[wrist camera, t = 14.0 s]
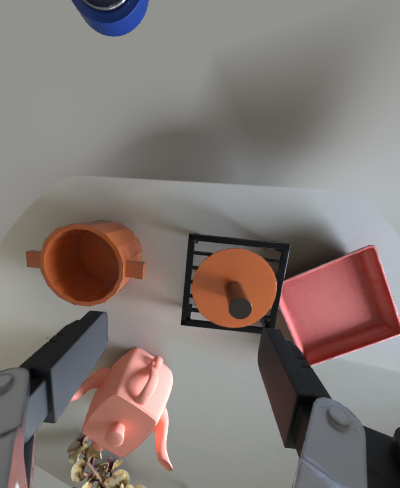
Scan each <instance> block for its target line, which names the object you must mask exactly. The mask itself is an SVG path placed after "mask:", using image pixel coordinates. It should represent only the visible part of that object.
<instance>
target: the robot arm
mask: <svg viewBox="0 0 400 488" xmlns="http://www.w3.org/2000/svg"><path fill="white" fill-rule="evenodd" d="M82 1H83V2H84V3H85V4H86V5H87V6H88V7H90V8H91V9H93V10H95V11H97V12H101V13H111V12H115V11H117V10H119V9H120V8H122V7H123V6H124V5H125V4H126V3H127V2H128V1H129V0H82ZM107 341H108V317H107V313H106V312H100V311H89V312H88V313H87V314H86V315H85V316H84V317H83V318H82V319H80V320H76V321H74V322H72V323H70V324H68V325H66V326H65V327H64V328H63V329H61V330H60V331H59V332H58V333H57V335H55V336H53V337H52V338H51V339H50V340H49V342H47V343H46V344H44V345H43V346H42V347H41V348H40V349H39V350H38V351H36V352H35V353H34V354H33V355H32V356H31V357H30V358H28V359H27V360H26V361H25V362H24V363H23V364H22V365H20V366H19V367H18V368H10V369H6V370H3V371H0V488H32V480H33V468H34V455H35V442H36V430H37V429H38V428H39V426H40V425H41V424H42V422H46V423H56V421H57V420H58V418H59V417H60V415H61V414H62V412H63V411H64V409H65V408H66V407H67V405H68V404H69V402H70V401H71V399H72V398H73V396H74V395H75V393H76V392H77V390H78V389H79V387H80V386H81V385H82V383H83V382H84V380H85V379H86V377H87V376H88V374H89V373H90V371H91V370H92V368H93V367H94V365H95V364H96V363H97V361H98V360H99V358H100V357H101V355H102V354H103V352H104V350H105V348H106V345H107ZM258 366H259V370H260V373H261V376H262V379H263V382H264V385H265V388H266V391H267V394H268V397H269V400H270V404H271V407H272V410H273V413H274V416H275V419H276V422H277V425H278V428H279V431H280V434H281V437H282V441H283V444H284V447H285V448H293V449H296V450H297V453H298V456H299V461H298V465H297V469H296V473H295V478H294V482H293V486H292V488H400V427H399V428H397V429H396V431H395V433H394V436H393V437H390V436H388V435H385V434H383V433H380V432H378V431H375V430H372V429H370V428H367V427H365V426H363V425H362V424H361V422H360V421H359V419H358V418H357V417H356V416H355V415H354V414H353V413H352V412H351V411H350V410H349V409H348V408H347V407H345V406H344V405H342V404H341V403H339V402H337V401H335V400H333V399H332V398H331V397H330V395H329V394H328V392H327V391H326V389H325V387H324V386H323V384H322V383H321V381H320V380H319V378H318V377H317V375H316V374H315V372H314V370H313V369H312V368H311V366H310V364H309V363H308V361H307V360H306V358H305V356H304V355H303V353H302V352H301V350H300V349H299V348H298V347H297V346H296V345H295V344H293V343H292V342H291V341H286V339H285V338H284V336H283V334H282V333H281V331H280V330H279V329H273V328H263V329H262V333H261V339H260V345H259V350H258ZM73 488H74V487H73Z"/></svg>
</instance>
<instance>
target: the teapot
mask: <svg viewBox="0 0 400 488" xmlns="http://www.w3.org/2000/svg"><path fill="white" fill-rule="evenodd" d="M172 384H173V377H172V373H171V370H170V369H169V368H167V367H166V366H165V365H164V364H163V360H162V358H161V357H159V356H156V357H155V358H154V357H153V356H151V355H150V354H148V353H147V352H145V351H144V350H142V349H141V348H133V349H131V350H130V351H128V352H127V353H126V354H125V355H123V356H122V357H121V358H120V359H119V360H118V361H117V362H116V363H115V364H114V365H113V366H112V367H105V368H101V369H99V370H97V371H95V372H94V373H92V374H91V375H90V376H89V377H88V378H87V379H86V380H85V381H84V382H83V383H82V385H81V386H80V387H79V389H78V390H77V392H76V393H75V395H74V396H73V398H72V399H71V401H74V400H77V399H79V398H80V397H82V396H83V395H84V394H85V393H86V392H87V391H88V390H90V389H92V388H98V389H97V391H96V393H95V395H94V397H93V399H92V402H91V404H90V407H89V410H88V413H87V416H86V419H85V422H84V425H83V428H82V431H83V434H84V435H86V436H87V437H88V438H90V439H91V440H92V441H93V448H94V449H95V450H96V451H102V450H103V449H104V448H105V449H106V450H108V451H109V452H111V453H113V454H115V455H117V456H119V457H125V456H127V455H128V454H130V453H131V452H133V451H134V450H135V449H136V448H137V447H138V446H139V445H141V444H142V443H143V442H144V440H145V439H146V438H147V437H148V436H149V435H150V433H151V432H152V431H153V429H154V432H155V439H156V453H157V457H158V460H159V462H160V464H161V465H162V466H163V467H164V468H165V469H166V470H168V471H172V465H171V463H170V461H169V458H168V455H167V450H166V439H167V430H168V413H167V410H166V407H165V406H166V403H167V401H168V398H169V395H170V392H171V388H172Z"/></svg>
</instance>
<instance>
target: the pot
mask: <svg viewBox="0 0 400 488" xmlns="http://www.w3.org/2000/svg"><path fill="white" fill-rule="evenodd" d="M26 260H27V267H34V268H41V272H42V274H43V277H44V279H45V281H46V283H47V285H48V286H49V287H50V289H51V290H52V291H53V292H54V293H55V294H56V295H57V296H58V297H60V298H62V299H64V300H66V301H68V302H70V303H72V304H74V305H82V306H93V305H97V304H101V303H104V302H106V301H107V300H108V299H110V298H111V297H112V296H113V295H115V294H116V293H117V292H118V291H119V290H120V289H121V288H122V287H123V286H124V285H125V284H126V283H127V282H129V281H130V280H131V279H132V278H137V279H143V278H144V277H145V262H141V261H142V250H141V246H140V243H139V241H138V239H137V237H136V236H135V234H134V233H133V232H132V231H131V230H130V229H129V228H127V227H126V226H124V225H123V224H120V223H118V222H115V221H105V220H100V221H92V222H84V223H75V224H70V225H67V226H64V227H61V228H58V229H56V230H55V231H54V232H53V233H52V234H51V235H50V236H49V237H48V238H46V239H45V242H44V244H43V247H42V250H41V251H34V250H31V251H27V252H26Z"/></svg>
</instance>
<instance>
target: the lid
mask: <svg viewBox="0 0 400 488" xmlns="http://www.w3.org/2000/svg"><path fill="white" fill-rule="evenodd" d="M276 290H277V284H276V278H275V275H274V272H273V270H272V268H271V267H270V265H269V264H268V263H267V262H266V261H265V260H264V259H263V258H262V257H261V256H259V255H258V254H256V253H254V252H252V251H250V250H246V249H242V248H227V249H223V250H220V251H217V252H215V253H213V254H211V255H210V256H208V257H207V258H206V259H205V260H204V261H203V262H202V263H201V264H200V265H199V267H198V268H197V270H196V272H195V275H194V278H193V283H192V295H193V299H194V302H195V305H196V306H197V308H198V310H199V311H200V312H201V314H202V315H203V316H204V317H205V318H207V319H208V320H209V321H211V322H213V323H215V324H217V325H220V326H223V327H230V328H237V327H244V326H247V325H250V324H252V323H255V322H256V321H258V320H260V319H261V318H262V317H263V316H264V315H265V314H266V313H267V312H268V311H269V309H270V308H271V306H272V305H273V302H274V300H275V296H276Z"/></svg>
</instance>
